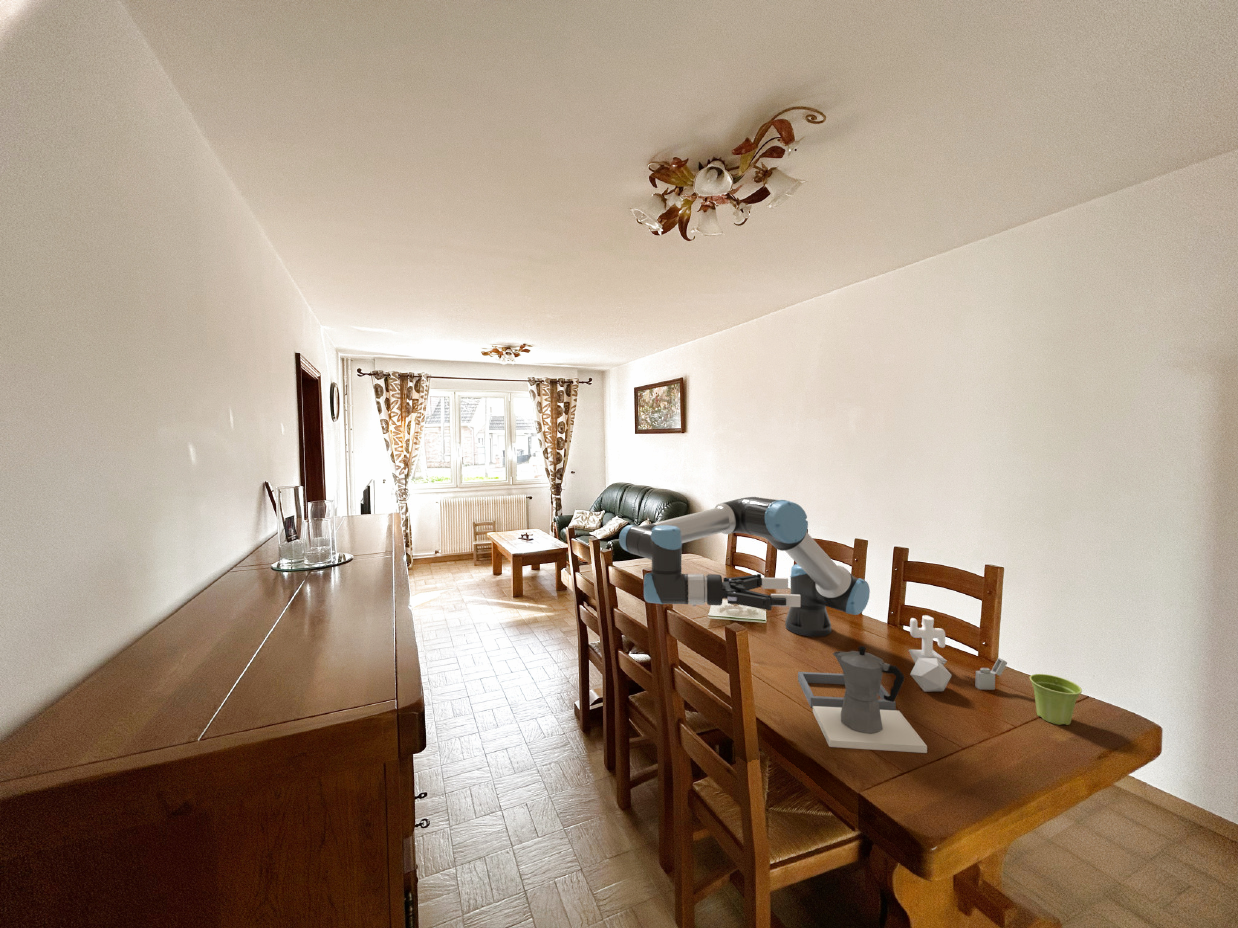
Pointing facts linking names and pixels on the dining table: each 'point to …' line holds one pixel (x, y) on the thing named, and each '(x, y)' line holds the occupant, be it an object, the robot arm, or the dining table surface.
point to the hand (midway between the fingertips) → (793, 591)
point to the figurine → (927, 639)
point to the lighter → (989, 675)
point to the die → (930, 674)
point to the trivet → (890, 738)
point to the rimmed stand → (834, 701)
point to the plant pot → (1054, 698)
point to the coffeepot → (865, 689)
